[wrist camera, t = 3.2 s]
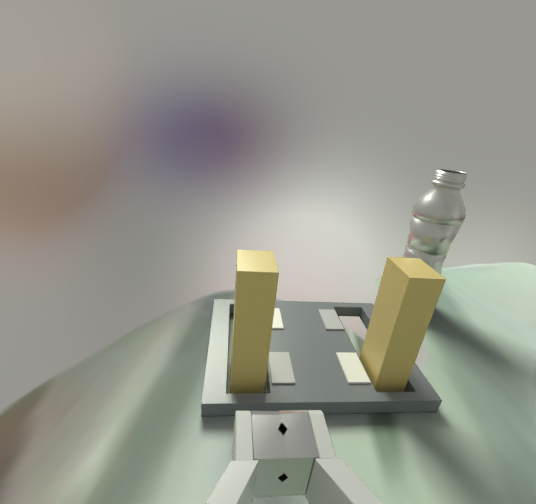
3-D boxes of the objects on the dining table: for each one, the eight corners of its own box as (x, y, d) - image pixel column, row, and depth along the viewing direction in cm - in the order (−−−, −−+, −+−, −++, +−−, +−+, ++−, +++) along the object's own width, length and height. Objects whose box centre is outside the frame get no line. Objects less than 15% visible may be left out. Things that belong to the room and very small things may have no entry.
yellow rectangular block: (358, 363, 33) (387, 256, 28) (385, 363, 34) (419, 258, 29) (372, 393, 30) (409, 277, 25) (403, 392, 30) (446, 279, 25)
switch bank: (214, 308, 41) (214, 297, 40) (370, 312, 43) (372, 302, 43) (201, 416, 26) (201, 402, 25) (436, 411, 29) (442, 399, 28)
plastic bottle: (383, 307, 45) (424, 170, 37) (388, 288, 50) (424, 165, 42) (431, 322, 42) (485, 178, 34) (430, 300, 48) (477, 172, 40)
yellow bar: (231, 362, 32) (237, 249, 27) (261, 362, 32) (273, 251, 27) (230, 394, 28) (237, 270, 23) (264, 394, 29) (278, 272, 23)
